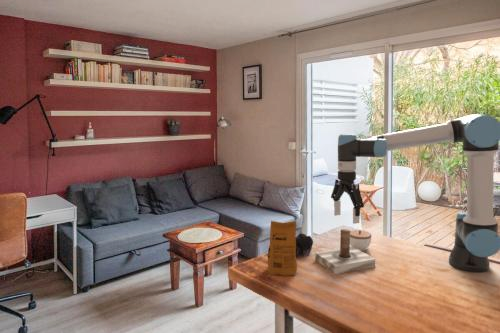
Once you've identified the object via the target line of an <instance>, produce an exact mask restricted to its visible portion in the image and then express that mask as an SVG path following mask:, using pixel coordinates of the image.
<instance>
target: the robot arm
mask: <svg viewBox="0 0 500 333" xmlns="http://www.w3.org/2000/svg"><path fill="white" fill-rule="evenodd" d="M337 138H338V139H337V170H338V171H337V179H335V180H334V186H333V189H332V193H331V196H330V198H331V199H332V200H333V208H334V210H333V211H334V214H333V215H334V216H335V217H336V216H341V202H342V201H341V198H342V196H343V194H344V193H346V194H347V195H348V196H349V199H350V200H351V203H352V205H353V208H352V224H353V225H354V224H360V216H361V208H362V209H363V208H364V207H365V205H364V201H363V197H362V193H361V191H360V184H359V183H355V182H354V181H355V180H356V179H357V171H356V170H357V158H358V157H359V158H361V157H363V158H384V157H386V156H387V152H390V151H395V150H403V149H408V148H414V147H421V146H427V145H429V146H430V145H434V144H440V143H448V142H449V143H451V144H456V143H457V144H458V143H462V152H463V153H465V155H466V156H467V157H466V159H467V160H466V173H467V174H466V176H467V177H466V179H467V180H466V184H467V185H466V188H467V189H466V195H467V196H466V200H467V202H466V209H467V210H466V211H460V212H458V213H457V214H456V218H455V234H454V246H453V248H452V249H451V252H450V254H449V256H448V263H449V264H450V265H451V266H452V267H454V268H456V269H458V270H463V271H466V272H473V273H483V272H487V271H489V270H490V260H489V257H492V256H494V255H495V254H497V253H498V252H499V251H500V235H499V233H498V232H499V226H498V225H499V221H498V220H497V219H496V218H495V216H494V166H495V164H494V162H495V160H494V156H495V154H496V153H497V152H498V151H499V145H500V144H499V142H500V121H499V120H498V119H497V118H496V117H494V116H492V115H489V114H483V113H482V114H480V113H478V114H477V113H474V114H473V113H472V114H469V115H466V116H462V117H459V118H455V119H450V120H447V122H446V123H440V124H435V125H430V126H429V125H428V126H426V127H425V126H424V127H419V128H418V127H417V128H413V129H406V130H402V131H397V132H396V131H395V132H390V133H385V134H379V135H371V136H367V137H366V138H358V137H357V134H355V133H342V134H341V133H340V134H339V136H338V137H337Z"/></svg>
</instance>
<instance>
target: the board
mask: <svg viewBox="0 0 500 333" xmlns="http://www.w3.org/2000/svg"><path fill="white" fill-rule="evenodd" d="M314 254H315V255H314V256H315V258H314V260H315V261H316V262H317V263H319V264H320V265H321V266H323V267H325V268H326V269H327V270H329V271H330V272H331V273H333V274H334V275H338V274H343V273H349V272H354V271H359V270H365V269H369V268H373V267H376V258H375V257H373V256H371V255H369V254H368V253H366V252H365V251H360V250H358V249H356V248H355V247H353V246H350V254H349V255H350V257H349V258H341V257H340V248H336V249H335V248H334V249H330V250H325V251H323V250H322V251H317V252H315V253H314Z"/></svg>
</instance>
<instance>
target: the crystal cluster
mask: <svg viewBox="0 0 500 333" xmlns="http://www.w3.org/2000/svg"><path fill="white" fill-rule="evenodd" d="M313 245H314V240H313V238H312V237H311V235H308V236H307V235H306V233H299V234H298V235H297V236H296V258H301V257H302V258H304V257H308V256H309V255H310V254H311V252H312V248H313Z"/></svg>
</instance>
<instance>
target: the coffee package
mask: <svg viewBox="0 0 500 333" xmlns="http://www.w3.org/2000/svg"><path fill="white" fill-rule="evenodd" d="M297 226H298V225H297V221H296V220H295V221H287V222H281V221H275V220H270V231H269V232H270V233H269V234H270V235H269V236H270V238H269V246H268V249H267V250H268V251H267V273H268V274H269V275H270V276H274V275H275V276H276V275H279V276H282V277H288V276H289V277H290V276H295V275H297V272H298V260H297V257H296V237H297V236H296V234H297V233H296V231H297Z"/></svg>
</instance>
